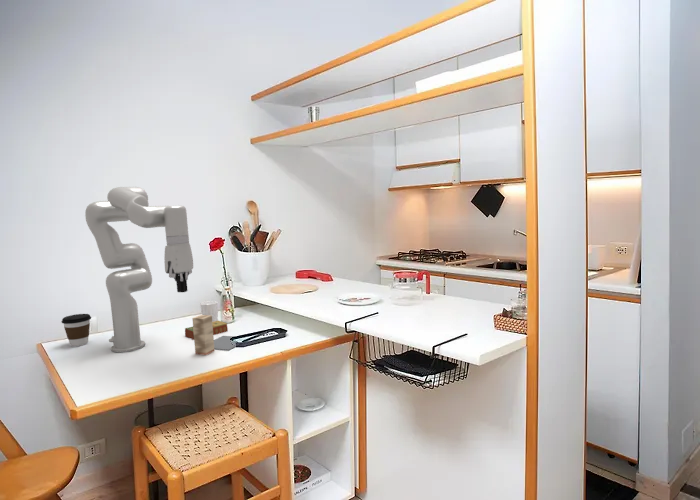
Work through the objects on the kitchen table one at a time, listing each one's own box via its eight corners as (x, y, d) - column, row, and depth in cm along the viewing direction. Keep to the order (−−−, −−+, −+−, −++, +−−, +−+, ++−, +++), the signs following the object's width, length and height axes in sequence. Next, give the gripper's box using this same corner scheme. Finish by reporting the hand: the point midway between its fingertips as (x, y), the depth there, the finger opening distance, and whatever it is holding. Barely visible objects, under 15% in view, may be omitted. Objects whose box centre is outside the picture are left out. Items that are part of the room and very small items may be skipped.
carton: (228, 332, 210) (227, 322, 209) (193, 341, 199) (193, 331, 198) (218, 329, 216) (218, 319, 215) (185, 337, 205) (184, 327, 204)
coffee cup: (80, 348, 194) (77, 320, 192) (57, 348, 196) (54, 319, 195) (99, 340, 204) (96, 313, 203) (77, 340, 206) (75, 313, 205)
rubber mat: (198, 348, 187) (198, 347, 187) (223, 336, 202) (223, 335, 202) (228, 350, 182) (228, 349, 182) (251, 338, 197) (251, 337, 197)
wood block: (195, 354, 180) (192, 318, 178) (203, 350, 184) (200, 314, 183) (206, 355, 178) (203, 318, 176) (214, 350, 182) (211, 315, 181)
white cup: (201, 322, 228) (199, 302, 227) (218, 320, 231) (216, 300, 229) (202, 326, 220) (200, 305, 219) (219, 324, 223) (218, 303, 222)
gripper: (183, 239, 175) (187, 287, 177) (153, 243, 161) (159, 295, 163) (200, 238, 173) (204, 288, 175) (171, 242, 159) (176, 296, 161)
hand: (182, 291), depth 169 cm, fingers closed
